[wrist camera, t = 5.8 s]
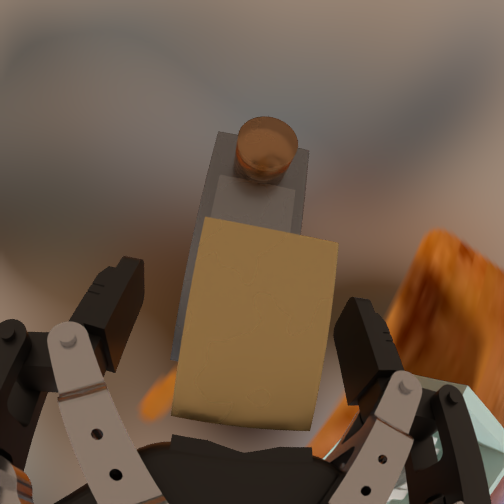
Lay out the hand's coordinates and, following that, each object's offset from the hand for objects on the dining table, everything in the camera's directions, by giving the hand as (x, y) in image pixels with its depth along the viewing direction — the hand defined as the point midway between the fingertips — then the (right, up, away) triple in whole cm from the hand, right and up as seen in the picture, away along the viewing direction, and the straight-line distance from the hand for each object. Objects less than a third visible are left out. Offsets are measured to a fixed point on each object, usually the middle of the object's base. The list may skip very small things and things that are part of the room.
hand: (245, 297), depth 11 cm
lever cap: (-1, -2, +4) cm, 5 cm away
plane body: (0, +2, +7) cm, 8 cm away
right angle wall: (+11, -15, +6) cm, 19 cm away
